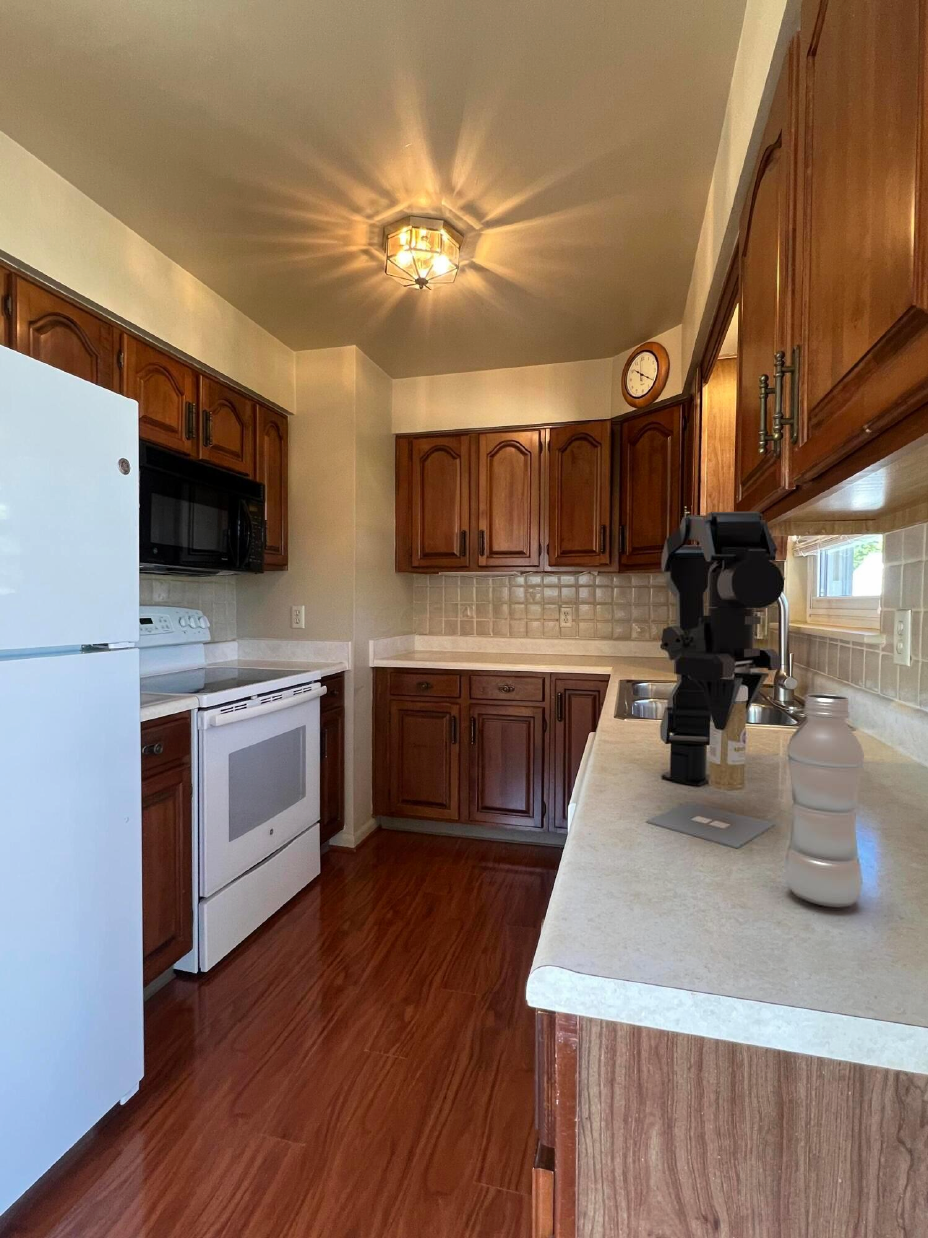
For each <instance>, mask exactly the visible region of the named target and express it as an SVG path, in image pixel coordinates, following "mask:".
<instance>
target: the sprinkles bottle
mask: <svg viewBox="0 0 928 1238" xmlns="http://www.w3.org/2000/svg"><path fill="white" fill-rule="evenodd" d="M747 700H748V688H747V686H744V685H741V686H740V689H739V692H738V694H737V697H736V700H735V703H734V706H733V708H732V711H731V714H730V717H729V720H728V722H727V725H726V727H725V729H724V730H718V729H716V728H715V726H714V723H713V720H712V716H711V721H710V745H709V755H708V756H709V759H708V760H709V775H710V779H709V782H708V784H709V786H711V787H713V788H715V789H718V790H723V791H727V792H728V791H731V792H732V791H742V790H744V789H746V782H745V779H746V778H745V776H746V775H745V772H746V771H745V768H746V753H747V751H746V749H747V748H746V745H747V744H746V743H747V742H746V741H747V729H746V727H747V723H746V721H747V716H746V715H747V713H746V703H747V702H746V701H747Z"/></svg>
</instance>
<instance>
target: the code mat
mask: <svg viewBox="0 0 928 1238" xmlns="http://www.w3.org/2000/svg"><path fill="white" fill-rule="evenodd" d="M645 823H647V824H651V825H655V826H658V827H661V828H665V829H668V830H672V831H675V832H679V833H682V834H685V835H689V836H692V837H696V838H700V839H703V840H706V841H710V842H713V843H716V844H719V845H724V846H727V847H731V848H734V849H737V850H738V849H739V848H741V847H742V846H744V845H746V844H747V843H749V842H751V841H753V840H754V839H755V838H757V837H759V836H760V835H762V834H763V833H765V832H766V831H768V830H769V829H771V828H773V827H775V826H776V823H774V822H771V821H766V820H763V819H758V818H755V817H751V816H747V815H743V814H742V815H741V814H739V813H734V812H732V811H730V812H729V811H726V810H723V809H719V808H714V807H711V806H706V805H703V804H699V803H694V802H691V801H687V802H686V803H683V804H681V805H678V806H676V807H674V808H672V809H669V810H667V811H665V812H662V813H661V814H658V815H656V816H654V817H652V818H649V819H646V820H645Z"/></svg>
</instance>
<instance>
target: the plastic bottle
mask: <svg viewBox="0 0 928 1238" xmlns="http://www.w3.org/2000/svg"><path fill="white" fill-rule="evenodd" d="M802 714H804V715H806V717H805V721H803V722H802V724H800V725H799V727H797V729H796V730H795V731H794V732H793V734H792V735H791V737H789V742H788V743H787V748H786V749H787V750H786V751H787V752H786V754H787V757H788V759H787V761H788V762H787V763H788V767H789V774H790V775H789V776H790V781H791V799H792V819H791V821H792V822H791V829H790V838H789V845H788V848H787V852H786V857H785V862H784V873H785V879H786V880H785V881H786V884H787V886H788V887H789V888H790V890H791V891H792V892H793V894H794V895H795V896H797V897H798V898H800V899H802V900H803V901H806V902H809V903H812V904H815V905H818V906H819V905H820V906H824V907H830V908H846V907H850V906H852V905H853V904H855V902H856V901H857V900H858V899H859V898H860V896H861V891H862V888H863V883H864V882H863V876H862V875H863V874H862V867H861V862H860V858H859V857H858V856H859V854H858V842H857V841H858V839H857V829H856V820H857V812H856V810H857V807H858V795H859V789H860V783H861V778H862V772H863V765H864V759H865V758H864V757H865V754H864V749H863V747H862V744H861V743H860V741H859V740H858V738H857V736H856V735H855V733H854V732H853V731H852V730H851V728H850V727H849V725H847V722H846V719H848V718H850V712H849V697H847V696H842V695H834V694H821V693H820V694H819V693H818V694H817V693H815V694H814V693H809V694H806V695H805V698H804V708H803V712H802Z"/></svg>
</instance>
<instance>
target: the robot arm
mask: <svg viewBox="0 0 928 1238" xmlns="http://www.w3.org/2000/svg"><path fill="white" fill-rule="evenodd" d="M679 525H680V526H679V528H677V529H676V530H675V531H673V533H671V534H670V535H669V536H668V537H667V538H666V540H665V541H664V547H663V550H662V554H661V564H660V565H661V572H662V573H664V581H665V586H666V587H667V589H668V590H669V591H670V593H671V594H672V595H673V597H674V599H675V601H674V602H675V603H674V604H675V625H670V626H668V627H665V628H663V629H662V634H661V644H660V645H659V648H660V649H661V650H664V651H665V652H667V655H668V659H669V661H673V674H675V675H676V684H674V685H675V686H674V687H673V689H672V690H671V692H670V694H669V695H668V697H667V703H666V704H667V706H664V709H663V714H662V716H661V717H662V718H661V721H660V726H659V731H660V732H659V733H660V740H661V741H663V743H664V744H665V745H670V753H669V754H670V755H669V757H670V758H669V771H668V772H665V773H663V774H661V779H664V780H669V781H673V782H677V783H680V784H685V785H691V786H695V787H700V786H703V785H704V784H707V783H709V779H710V774H707V768H708V767H707V766H708V765H707V763H708V762H707V761H708V755H707V754H708V746H710V721H711V716H712V720H713V723H714V726H715V728H716V729H718V730H724V729H725V727H726V725H727V722H728V720H729V717H730V714H731V711H732V708H733V706H734V703H735V700H736V697H737V694H738V692H739V689H740V686H741V685H744V686H747V688H748V700H747V701H746V702H747V703H746V714H747V713H748V711H749V709H750V708H751V706H752V704H753V702H754V700H755V698H756V697H757V695H758V693H759V691H760V689H761V688H762V686H763V684H764V682H765V681H766V679H767V678H769V675H770V673H768V672H767V673H766V672H759V669H767V670H768V671H776V670H780V669H781V667H780V665H781V655H780V654H779V653H778V652H777V650H775V649H774V648H765V647H764V648H762V647H761V648H760V647H755V625H761V618H762V617H761V615H759V616H758V615H757V616H756V609H761V608H766V607H769V606H771V605H773V604H775V602H776V601H778V599H779V598H780V597H781V595H782V594H783V591H784V587H785V579H784V577H783V574H782V571H781V570H780V568H779V567H778V566H777V565H776V564H775V563H774V562H775V561H776V559H777V557H776V554H777V551H778V547H777V545H776V543H775V541H774V538H773V535H772V534H771V531H770V529H769V526H768V523H767V521H766V520H763V515H762V514H761V513H760V511H710V512H707V513H706V514H704V515H703V514H701V515H699V514H697V515H696V514H694V515H693V514H692V515H691V514H690V515H687V516H682V518H681V523H680V524H679ZM690 541H693V542H695V543H699V545H698V544H697V545H696V544H694V545H693V544H692V545H691V544H689V545H688V544H687V545H686V542H690ZM706 590H707V605H706V606H707V608H706V611H707V612H706V614H705V608H704V607H705V604H704V603H705V601H704V599H705V598H704V594H705V592H706Z"/></svg>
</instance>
